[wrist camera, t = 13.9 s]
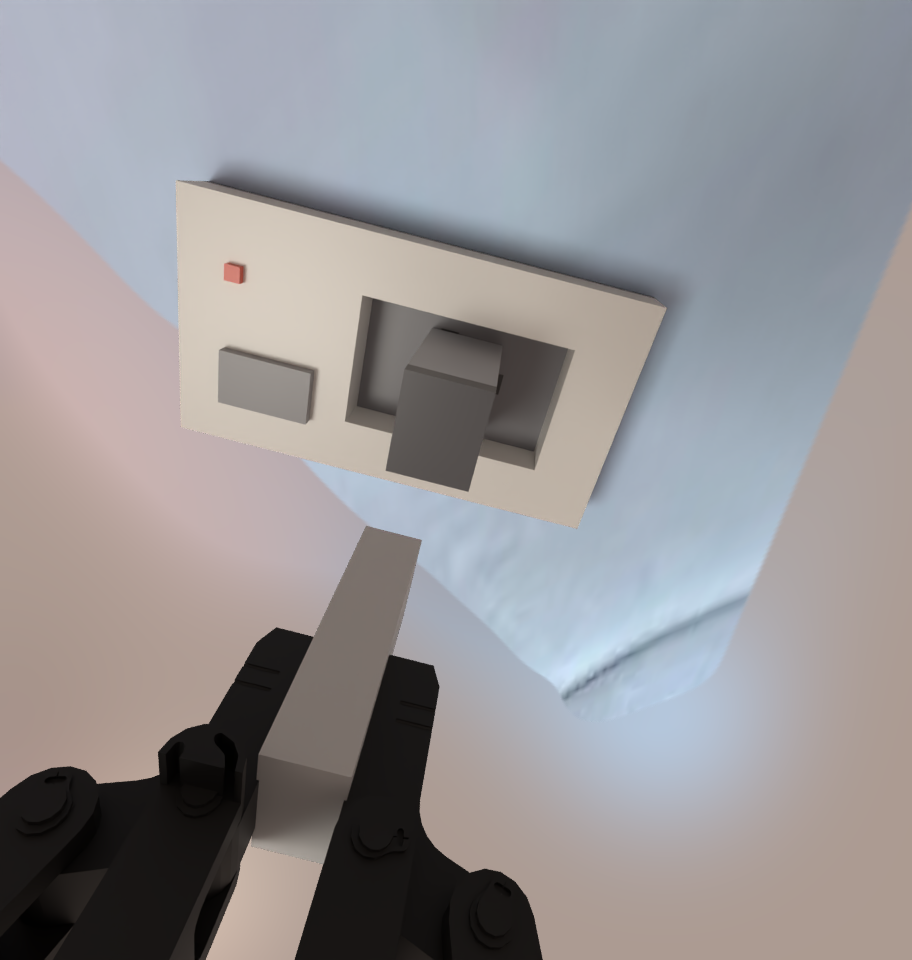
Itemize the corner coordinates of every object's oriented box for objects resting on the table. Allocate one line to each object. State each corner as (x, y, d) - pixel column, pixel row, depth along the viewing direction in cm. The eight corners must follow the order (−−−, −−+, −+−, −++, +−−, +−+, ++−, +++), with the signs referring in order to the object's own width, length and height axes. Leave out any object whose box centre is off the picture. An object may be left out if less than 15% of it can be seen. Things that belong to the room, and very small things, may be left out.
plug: (432, 327, 30) (404, 369, 23) (502, 345, 30) (495, 392, 23) (415, 410, 33) (385, 470, 26) (480, 426, 33) (468, 491, 26)
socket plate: (208, 181, 28) (168, 180, 25) (653, 297, 29) (669, 310, 26) (206, 409, 35) (175, 431, 31) (573, 503, 35) (578, 534, 32)
